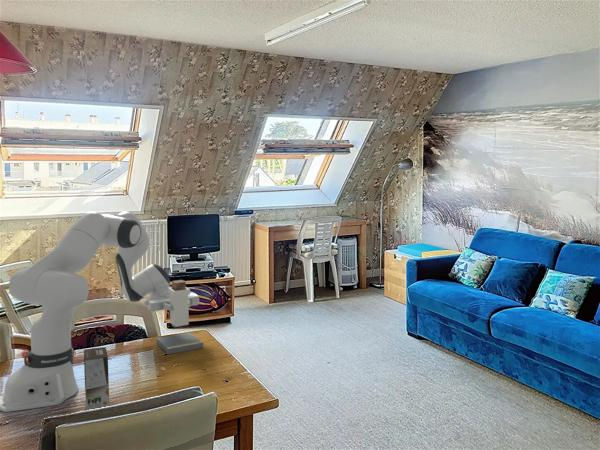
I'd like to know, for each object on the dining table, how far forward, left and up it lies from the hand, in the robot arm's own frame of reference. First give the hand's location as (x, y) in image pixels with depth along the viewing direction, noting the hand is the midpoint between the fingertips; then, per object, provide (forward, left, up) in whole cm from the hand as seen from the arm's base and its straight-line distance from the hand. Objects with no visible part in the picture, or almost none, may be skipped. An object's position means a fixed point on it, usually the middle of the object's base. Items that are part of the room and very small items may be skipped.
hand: (180, 307), depth 202 cm
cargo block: (0, +1, +6) cm, 6 cm away
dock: (0, +1, -16) cm, 16 cm away
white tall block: (0, +1, -7) cm, 7 cm away
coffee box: (-38, -35, -16) cm, 54 cm away
